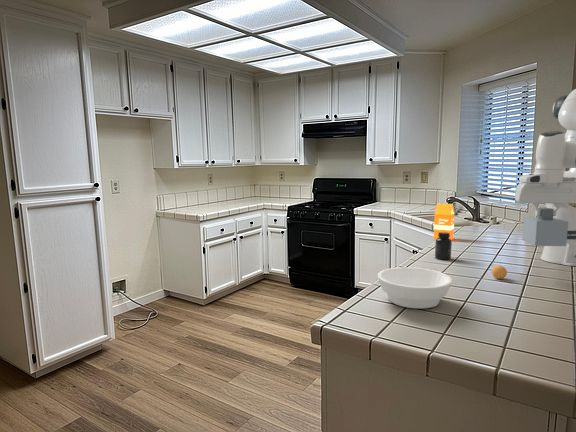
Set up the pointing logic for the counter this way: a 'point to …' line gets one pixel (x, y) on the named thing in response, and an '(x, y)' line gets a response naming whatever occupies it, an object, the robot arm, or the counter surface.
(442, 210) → the orange juice
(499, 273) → the ball
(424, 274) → the bowl
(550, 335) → the counter surface
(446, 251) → the supplement bottle
